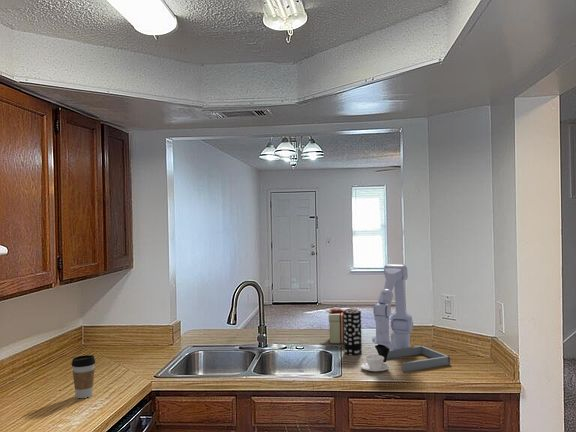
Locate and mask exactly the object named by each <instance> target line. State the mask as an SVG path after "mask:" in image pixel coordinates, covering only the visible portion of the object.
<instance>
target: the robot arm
mask: <svg viewBox="0 0 576 432" xmlns="http://www.w3.org/2000/svg"><path fill="white" fill-rule="evenodd" d="M383 274H384V275H383V276H384V278H385V283H384V286H383V287H384V288H383V289H382V290H381V291H380V293H379V296H378V300H377V303H376V304H374V306H373V310H372V312H373V316H374V321H375V336H374V337H372V339H371V340H372V343H374V344H376V345H374V347H375V349H376V351H377V355H380V356H383V357H384V360H383V363H387V360H388V359H387V355H388V352H389V350H393V349H401V348H408V347H411V335H410V334H411V332H413V330H414V321H413V316H412V315H411V314H410V313H408V312H407V311H406V310H407V309H406V291H405V289H406V288H405V281H407V280H408V277H409V276H408V275H409V274H408V267H407V265H406V264H388V263H386V264H385V265H384V267H383ZM393 291H394V293H393ZM393 297H394V302H395V303H394V305H395V306H394V307H395V313H392V305H391V304H392V301H393ZM391 313H392V315H391ZM390 316H391V317H390ZM390 329H391V331H392V332H391V334H390Z"/></svg>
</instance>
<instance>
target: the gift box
mask: <svg viewBox="0 0 576 432" xmlns="http://www.w3.org/2000/svg"><path fill="white" fill-rule="evenodd" d="M347 310H358V311H359V309H357V308H355V307H349V308H347V309H342V308H339V307H331V308H329V310H326V311H325V313H327V314H328V322H329V323H328V325H329V344H343V345H344V311H347Z"/></svg>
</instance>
